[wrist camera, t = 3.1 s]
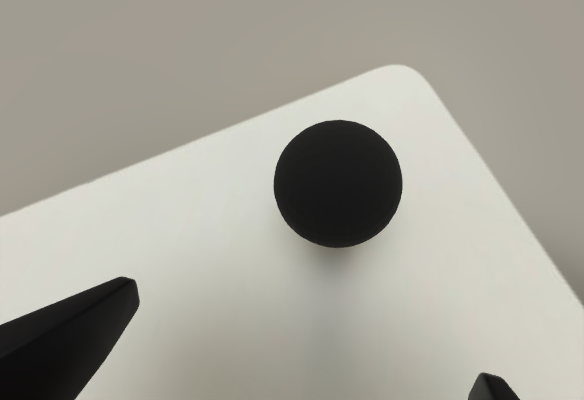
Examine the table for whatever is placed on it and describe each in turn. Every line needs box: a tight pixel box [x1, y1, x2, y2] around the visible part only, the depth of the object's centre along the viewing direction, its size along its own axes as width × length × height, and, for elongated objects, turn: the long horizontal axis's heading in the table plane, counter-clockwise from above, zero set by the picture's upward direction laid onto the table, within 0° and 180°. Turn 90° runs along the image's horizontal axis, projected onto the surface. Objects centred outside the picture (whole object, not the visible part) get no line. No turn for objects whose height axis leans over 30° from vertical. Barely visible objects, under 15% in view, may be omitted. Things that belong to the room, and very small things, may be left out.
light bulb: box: [274, 120, 402, 248], centre depth 17 cm, size 6×6×10 cm
